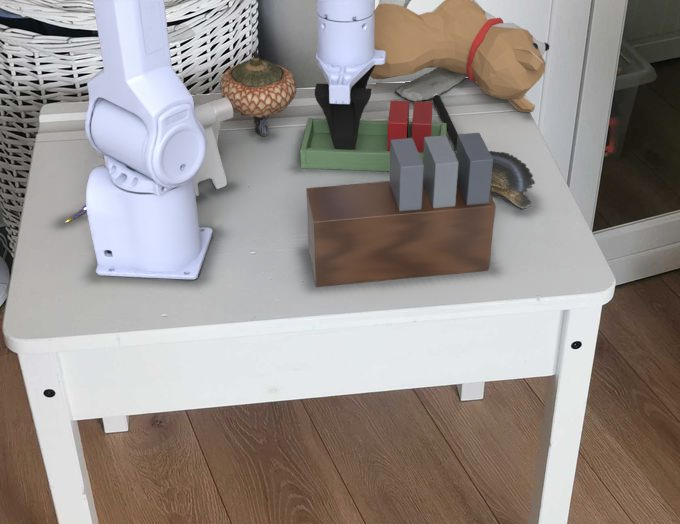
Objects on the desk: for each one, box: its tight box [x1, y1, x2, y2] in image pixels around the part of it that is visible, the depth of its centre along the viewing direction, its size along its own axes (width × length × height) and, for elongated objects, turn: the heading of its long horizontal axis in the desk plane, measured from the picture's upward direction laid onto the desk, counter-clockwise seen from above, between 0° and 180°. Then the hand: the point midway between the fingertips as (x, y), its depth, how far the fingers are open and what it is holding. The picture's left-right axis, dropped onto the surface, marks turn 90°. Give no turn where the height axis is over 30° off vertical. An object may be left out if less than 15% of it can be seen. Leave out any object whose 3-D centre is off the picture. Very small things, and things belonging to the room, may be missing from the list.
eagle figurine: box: [453, 150, 536, 210], centre depth 98 cm, size 8×7×9 cm
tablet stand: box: [193, 97, 234, 197], centre depth 101 cm, size 9×8×8 cm
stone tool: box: [395, 67, 468, 102], centre depth 120 cm, size 14×1×5 cm
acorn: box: [219, 50, 297, 137], centre depth 108 cm, size 8×8×10 cm
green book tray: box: [299, 117, 447, 172], centre depth 107 cm, size 15×7×2 cm, turn 85°
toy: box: [370, 0, 551, 113], centre depth 114 cm, size 10×24×20 cm
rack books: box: [387, 100, 434, 153], centre depth 105 cm, size 4×5×4 cm
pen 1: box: [64, 204, 87, 224], centre depth 100 cm, size 14×1×1 cm, turn 132°
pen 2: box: [432, 94, 459, 150], centre depth 110 cm, size 1×19×1 cm, turn 8°
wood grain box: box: [305, 180, 496, 288], centre depth 90 cm, size 16×6×7 cm, turn 98°
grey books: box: [388, 132, 493, 211], centre depth 87 cm, size 8×5×4 cm, turn 98°
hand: (346, 135), depth 106 cm, fingers closed on red book, 5 cm apart
